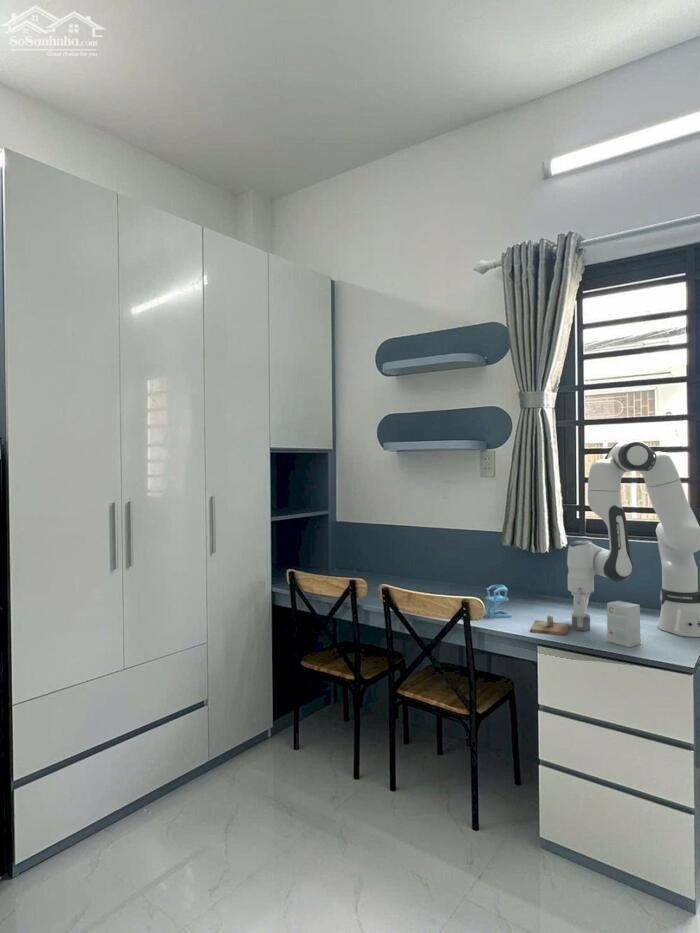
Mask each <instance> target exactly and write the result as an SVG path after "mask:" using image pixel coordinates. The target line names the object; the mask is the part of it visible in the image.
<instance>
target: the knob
mask: <svg viewBox="0 0 700 933" xmlns="http://www.w3.org/2000/svg"><path fill="white" fill-rule="evenodd" d="M571 629H572V630H575V631H580V632H588V631H591V615H590V614H588V613H585V617H584V618H583V627H578V625H577V617H574V614H573V613H571Z"/></svg>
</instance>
